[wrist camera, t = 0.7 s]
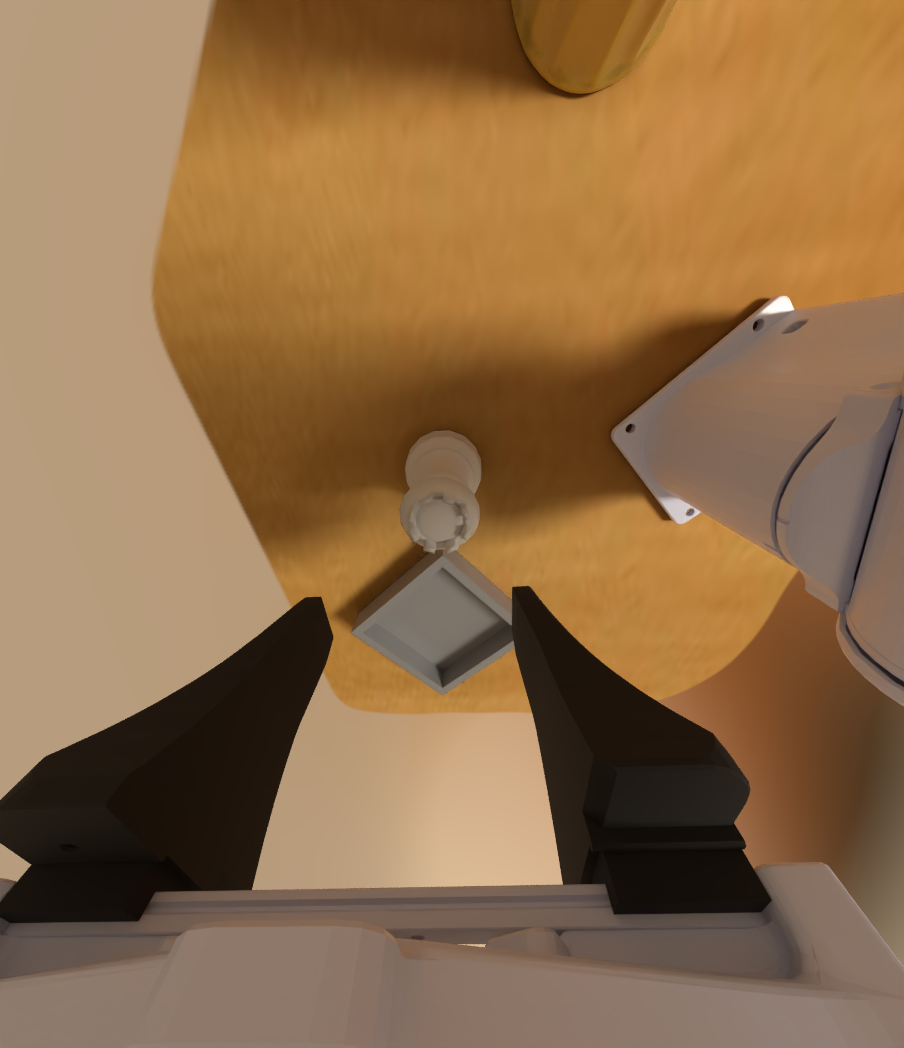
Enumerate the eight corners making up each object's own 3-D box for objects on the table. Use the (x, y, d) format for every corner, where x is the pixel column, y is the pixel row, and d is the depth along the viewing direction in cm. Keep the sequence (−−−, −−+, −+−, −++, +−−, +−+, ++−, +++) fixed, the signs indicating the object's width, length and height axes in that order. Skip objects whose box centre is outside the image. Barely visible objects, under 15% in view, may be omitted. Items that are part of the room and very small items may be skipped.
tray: (443, 539, 22) (442, 555, 20) (528, 615, 25) (534, 635, 23) (358, 613, 24) (350, 632, 23) (443, 673, 27) (442, 695, 25)
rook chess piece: (393, 478, 20) (360, 543, 13) (429, 412, 18) (415, 444, 11) (456, 513, 21) (458, 591, 14) (495, 454, 19) (522, 507, 12)
